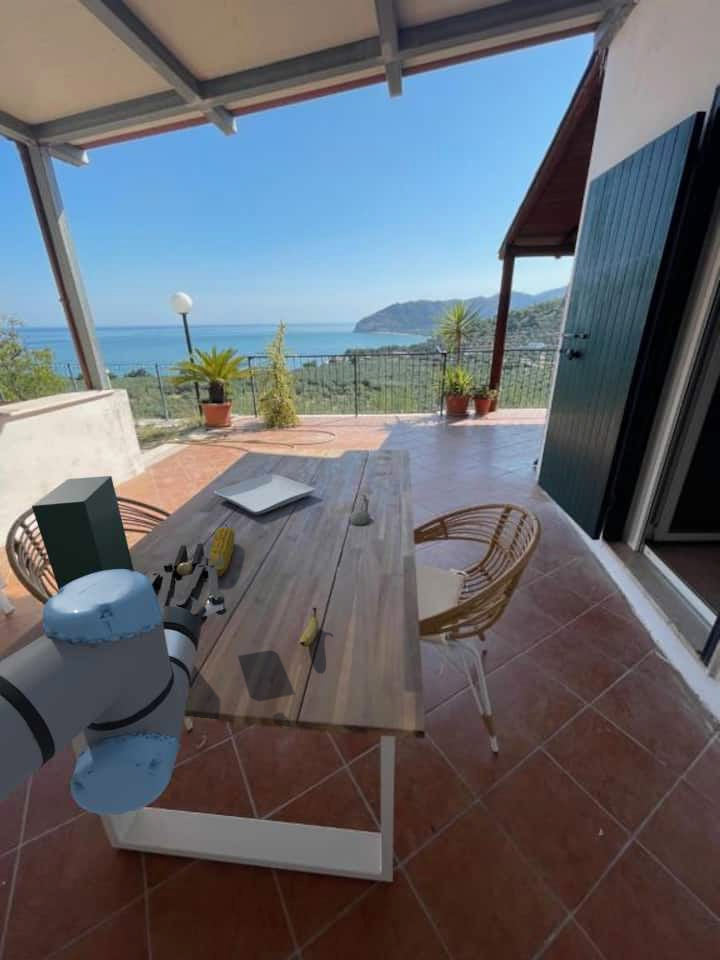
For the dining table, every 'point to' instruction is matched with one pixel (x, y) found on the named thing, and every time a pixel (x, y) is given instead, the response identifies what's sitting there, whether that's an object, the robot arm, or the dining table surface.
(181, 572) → the wooden mallet
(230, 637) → the dining table surface
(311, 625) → the banana
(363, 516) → the soupspoon
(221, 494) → the square plate
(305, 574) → the dining table surface
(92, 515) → the stand
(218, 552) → the food
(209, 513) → the dining table surface
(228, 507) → the dining table surface
